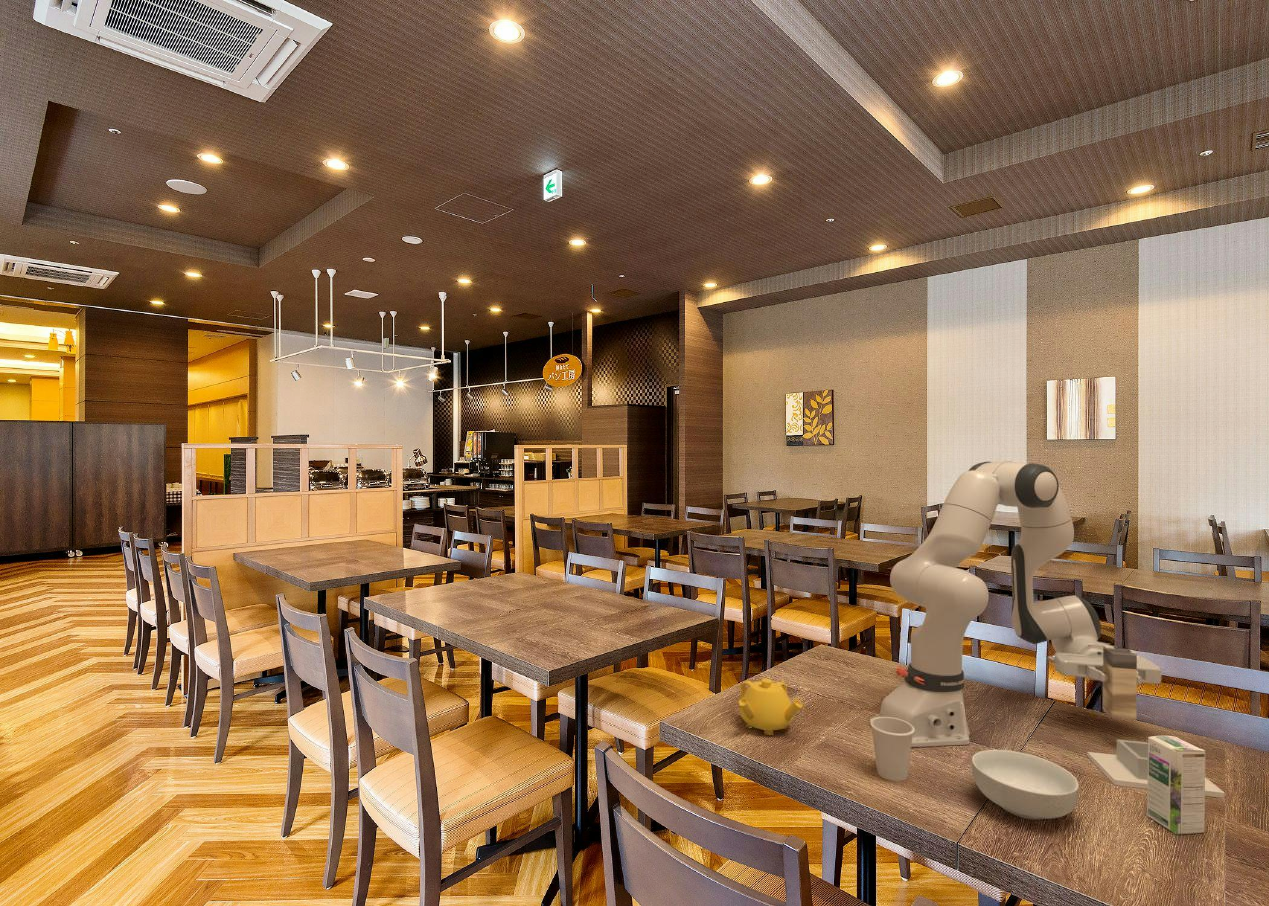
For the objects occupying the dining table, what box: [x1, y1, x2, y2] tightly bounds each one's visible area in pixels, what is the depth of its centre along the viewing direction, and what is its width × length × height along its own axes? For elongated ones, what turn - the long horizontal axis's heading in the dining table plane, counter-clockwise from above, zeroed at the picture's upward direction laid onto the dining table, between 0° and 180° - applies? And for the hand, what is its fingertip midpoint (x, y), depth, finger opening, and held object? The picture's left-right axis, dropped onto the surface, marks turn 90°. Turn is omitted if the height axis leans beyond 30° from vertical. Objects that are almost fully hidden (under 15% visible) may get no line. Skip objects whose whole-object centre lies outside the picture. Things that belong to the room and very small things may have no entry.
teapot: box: [738, 678, 804, 736], centre depth 148 cm, size 14×14×11 cm
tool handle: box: [1102, 648, 1138, 720], centre depth 139 cm, size 4×4×14 cm
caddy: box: [1087, 739, 1226, 799], centre depth 126 cm, size 12×18×5 cm, turn 75°
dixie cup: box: [869, 716, 915, 782], centre depth 127 cm, size 8×8×10 cm
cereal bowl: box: [971, 749, 1080, 821], centre depth 115 cm, size 17×17×7 cm
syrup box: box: [1146, 735, 1206, 835], centre depth 110 cm, size 6×6×14 cm
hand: (1121, 679), depth 138 cm, fingers closed on tool handle, 4 cm apart
